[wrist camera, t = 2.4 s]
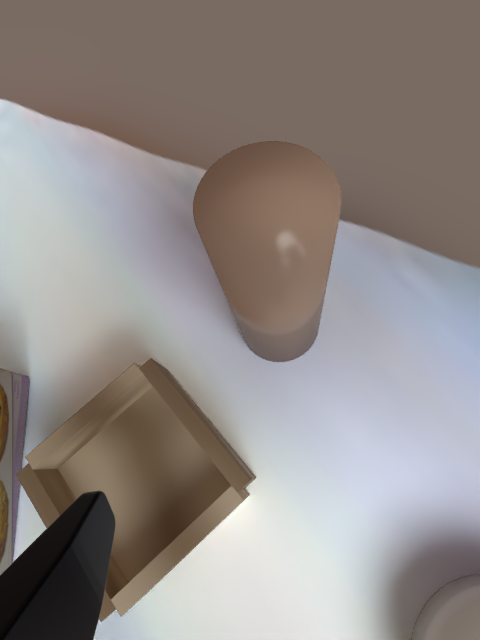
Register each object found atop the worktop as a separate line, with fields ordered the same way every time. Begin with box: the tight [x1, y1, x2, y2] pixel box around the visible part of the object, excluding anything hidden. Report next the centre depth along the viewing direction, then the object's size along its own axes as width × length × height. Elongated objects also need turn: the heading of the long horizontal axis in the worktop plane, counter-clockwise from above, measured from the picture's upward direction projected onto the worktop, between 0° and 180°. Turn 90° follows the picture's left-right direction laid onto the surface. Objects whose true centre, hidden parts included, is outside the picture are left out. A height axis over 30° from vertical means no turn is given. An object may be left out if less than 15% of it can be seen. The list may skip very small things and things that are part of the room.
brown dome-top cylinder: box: [193, 141, 342, 362], centre depth 18 cm, size 5×5×12 cm
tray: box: [16, 359, 256, 622], centre depth 20 cm, size 9×9×3 cm
